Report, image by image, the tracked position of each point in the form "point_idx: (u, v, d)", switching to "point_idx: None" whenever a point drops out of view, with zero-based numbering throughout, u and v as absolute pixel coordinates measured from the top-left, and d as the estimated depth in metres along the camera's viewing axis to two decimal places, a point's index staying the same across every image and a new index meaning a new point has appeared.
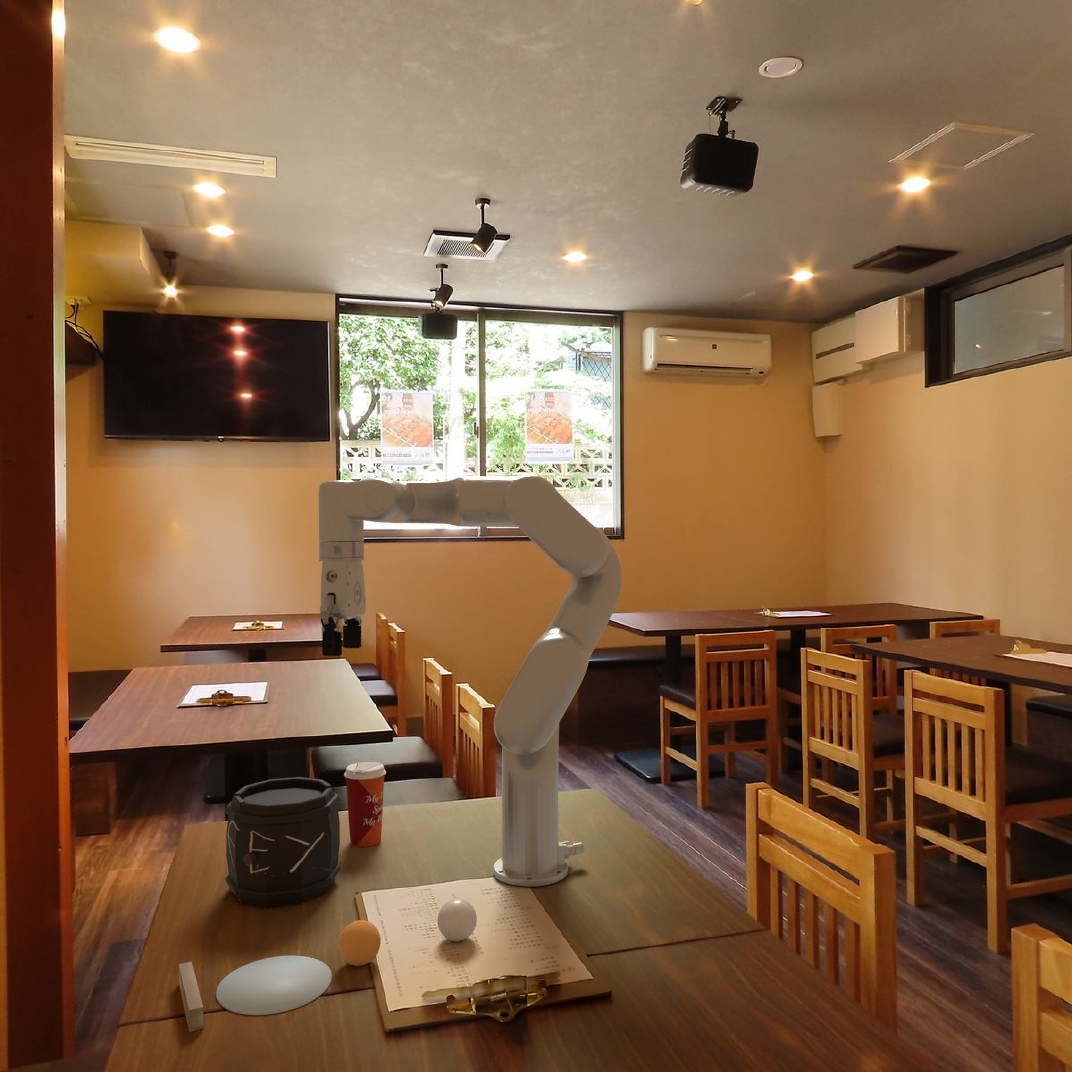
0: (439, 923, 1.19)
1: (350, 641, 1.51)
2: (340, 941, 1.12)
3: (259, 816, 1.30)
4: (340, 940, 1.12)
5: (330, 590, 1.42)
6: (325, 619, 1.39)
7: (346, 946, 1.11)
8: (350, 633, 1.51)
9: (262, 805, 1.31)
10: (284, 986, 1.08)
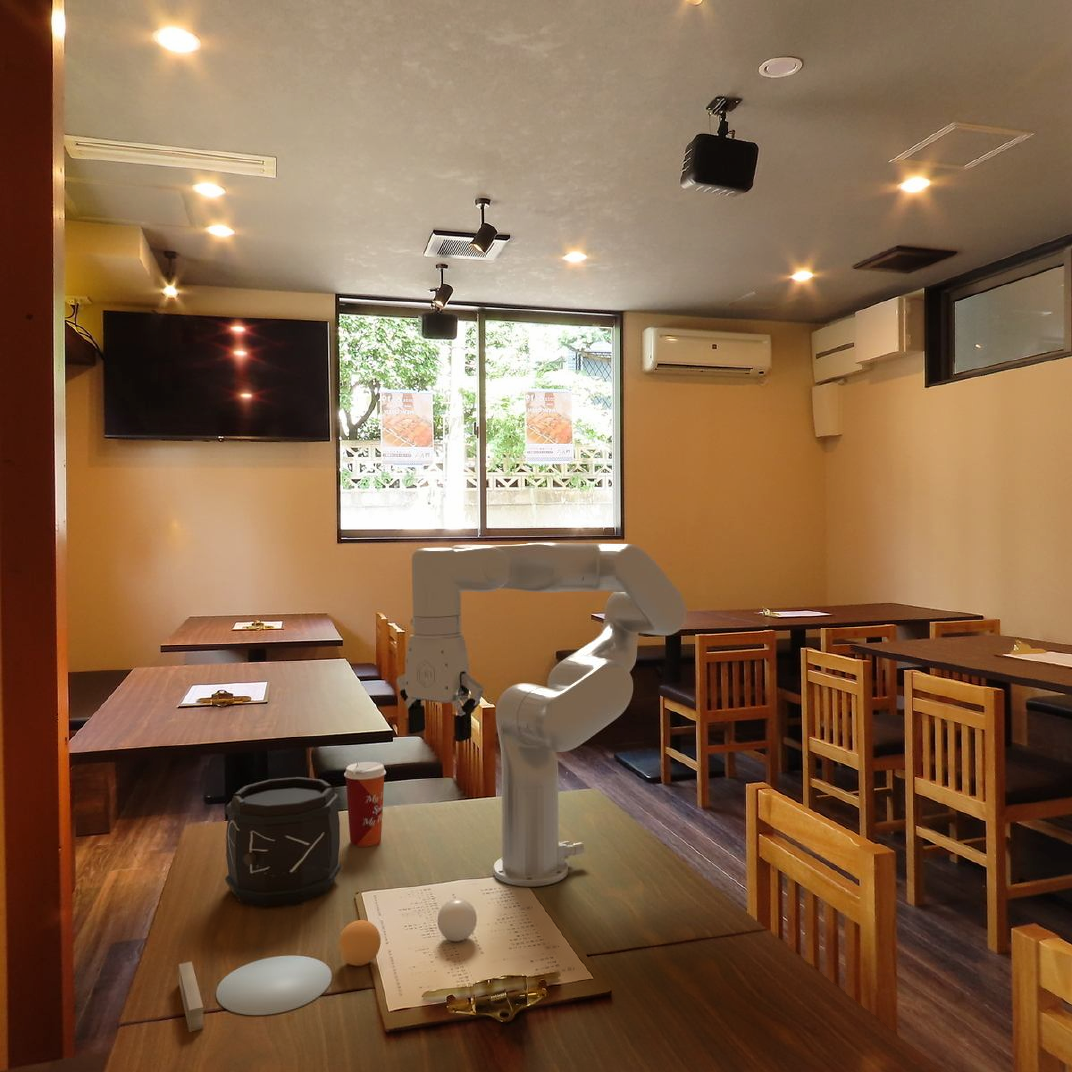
0: (439, 923, 1.19)
1: None
2: (340, 941, 1.12)
3: (259, 816, 1.30)
4: (340, 940, 1.12)
5: None
6: None
7: (346, 946, 1.11)
8: None
9: (262, 805, 1.31)
10: (284, 986, 1.08)
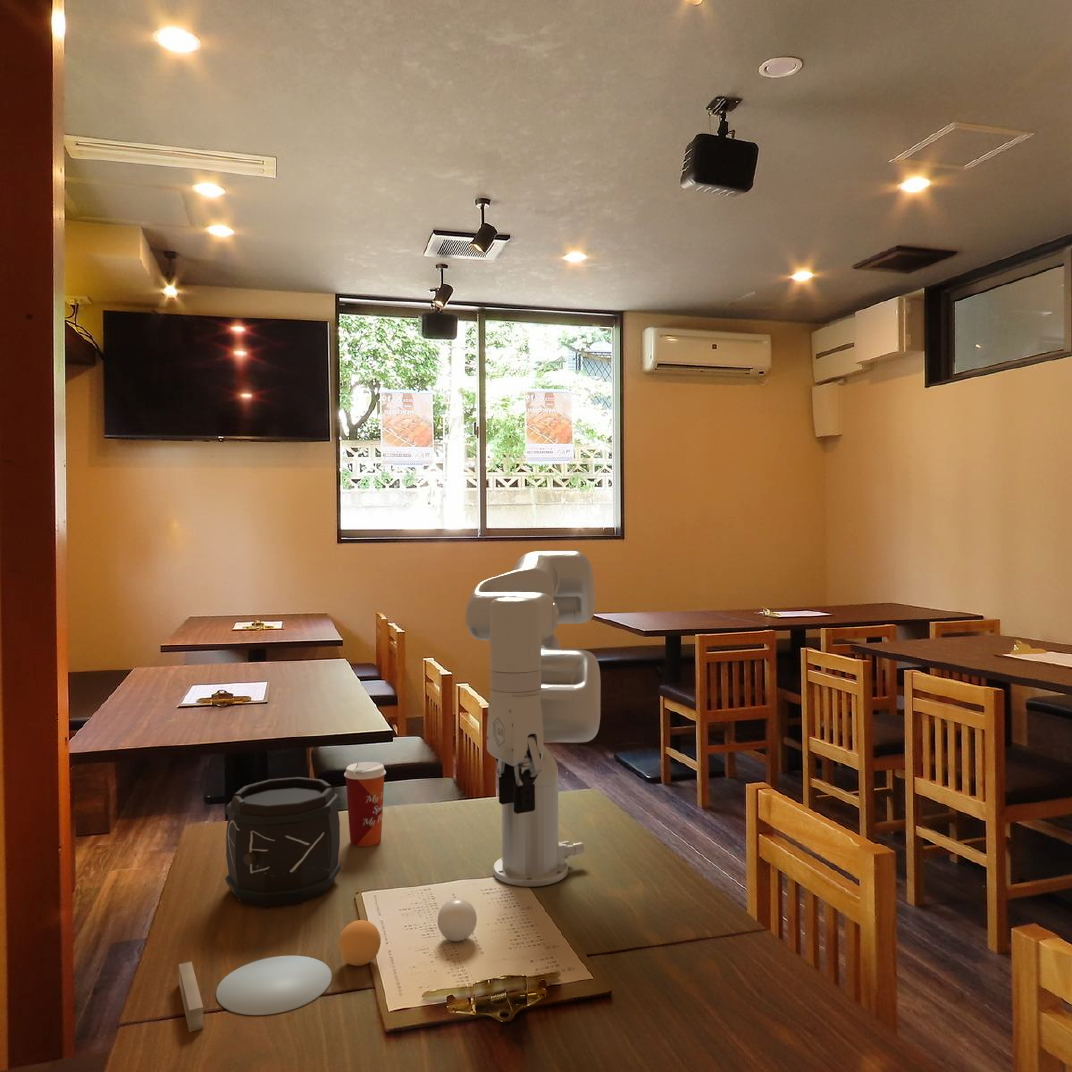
0: (439, 923, 1.19)
1: None
2: (340, 941, 1.12)
3: (259, 816, 1.30)
4: (340, 940, 1.12)
5: None
6: None
7: (346, 946, 1.11)
8: None
9: (262, 805, 1.31)
10: (284, 986, 1.08)
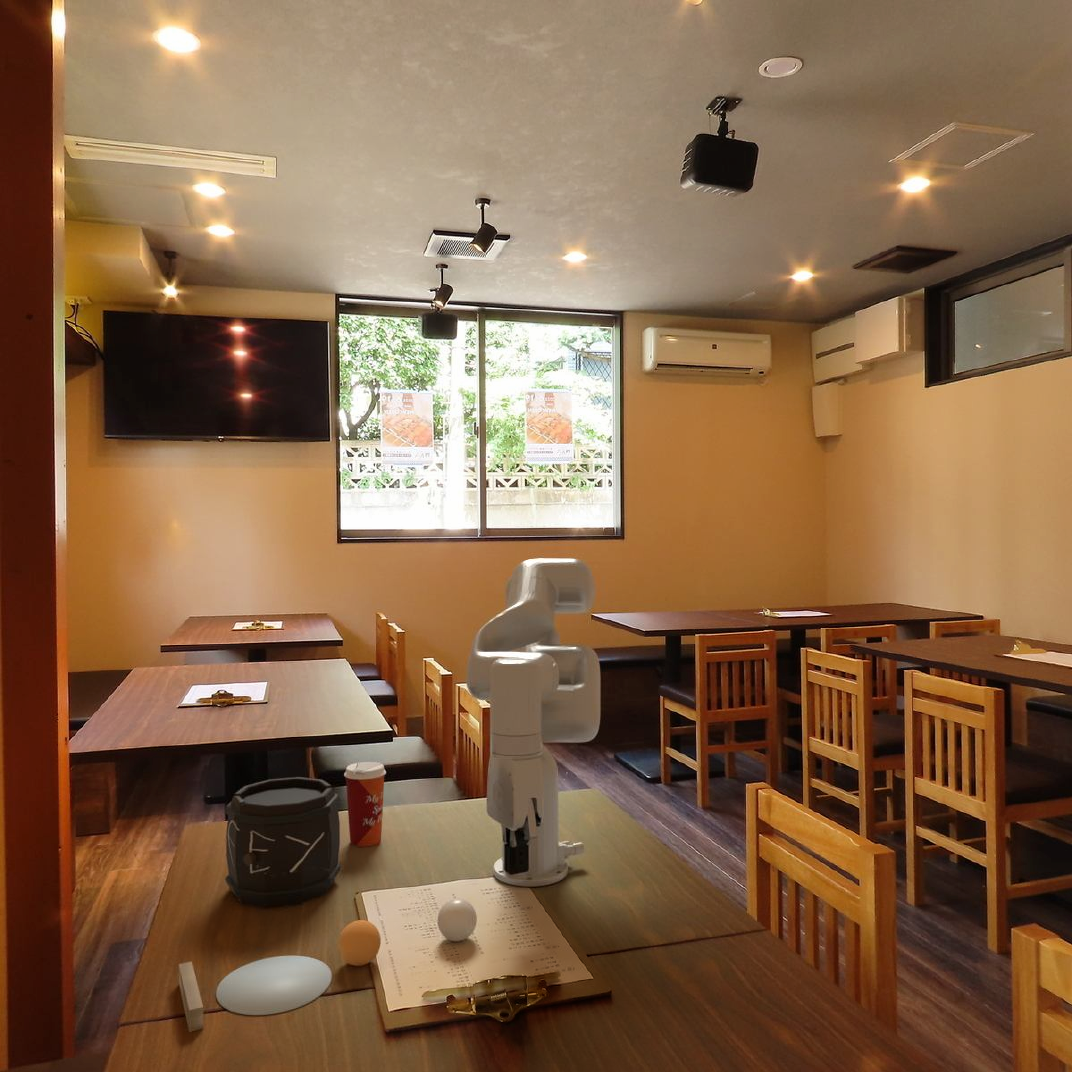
0: (439, 923, 1.19)
1: None
2: (340, 941, 1.12)
3: (259, 816, 1.30)
4: (340, 940, 1.12)
5: None
6: None
7: (346, 946, 1.11)
8: None
9: (262, 805, 1.31)
10: (284, 986, 1.08)
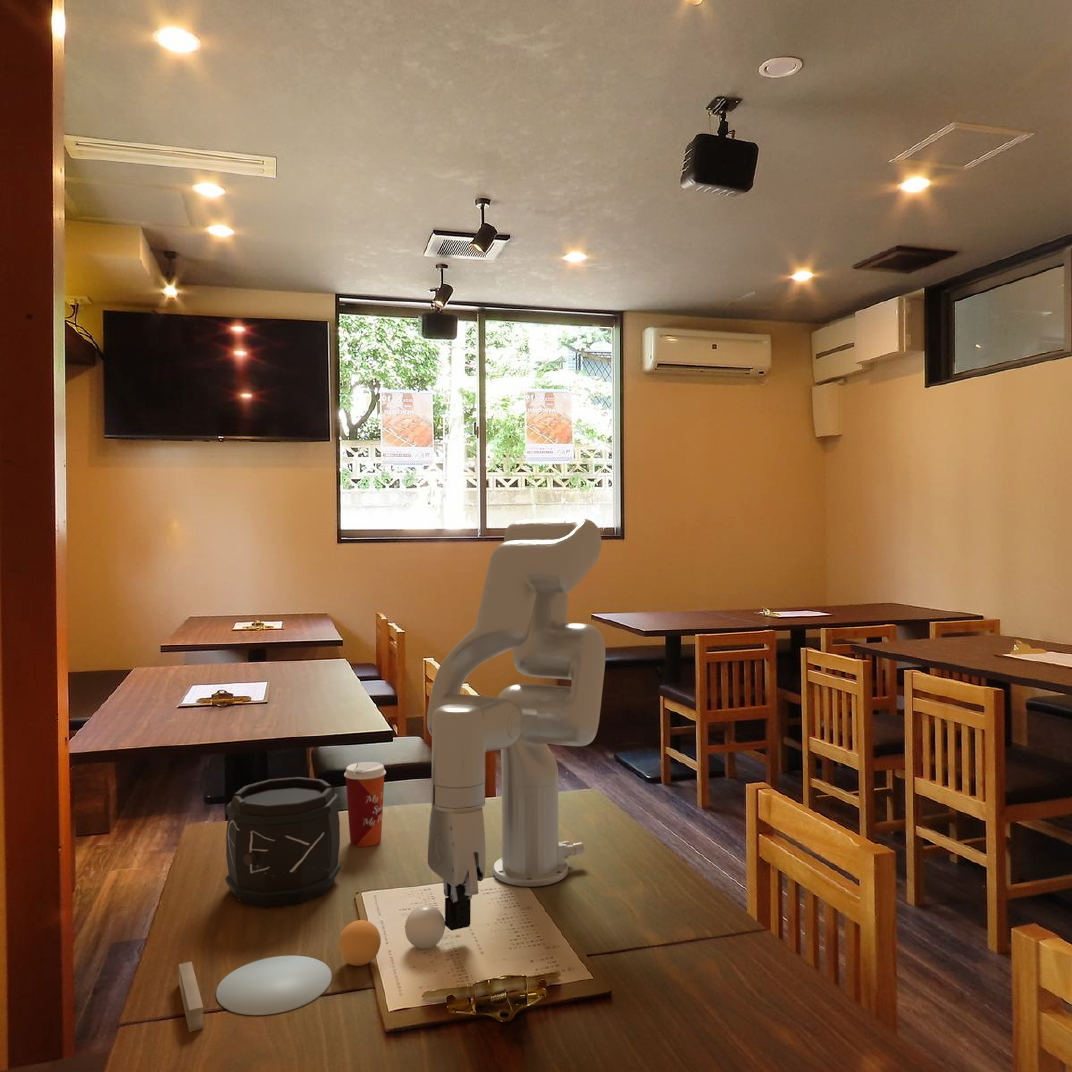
0: None
1: None
2: (340, 941, 1.12)
3: (259, 816, 1.30)
4: (340, 940, 1.12)
5: None
6: None
7: (346, 946, 1.11)
8: None
9: (262, 805, 1.31)
10: (284, 986, 1.08)
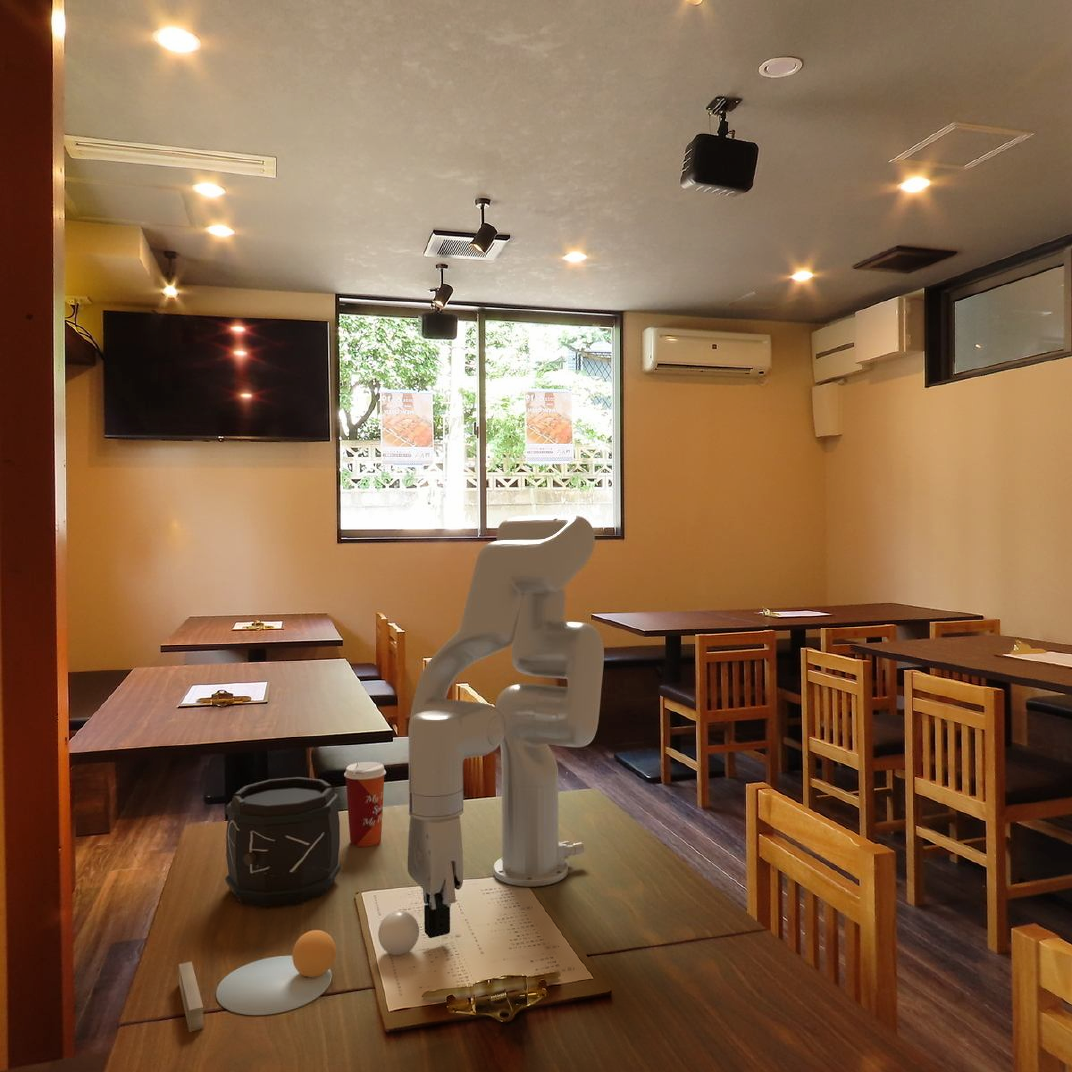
0: None
1: None
2: None
3: (259, 816, 1.30)
4: None
5: None
6: None
7: None
8: None
9: (262, 805, 1.31)
10: (284, 986, 1.08)
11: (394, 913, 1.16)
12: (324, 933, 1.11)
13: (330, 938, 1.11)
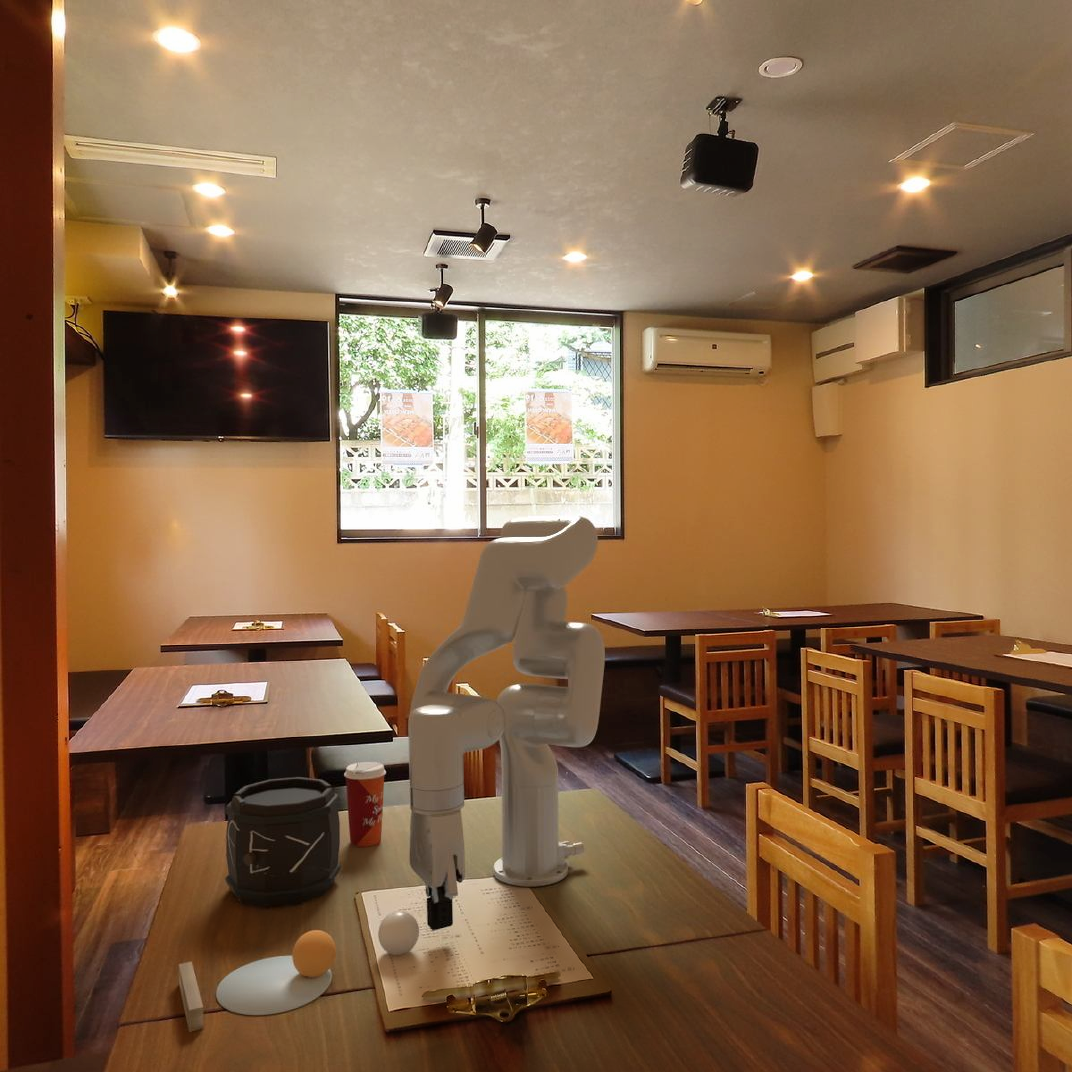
0: None
1: None
2: None
3: (259, 816, 1.30)
4: None
5: None
6: None
7: None
8: None
9: (262, 805, 1.31)
10: (284, 986, 1.08)
11: (394, 913, 1.16)
12: (324, 933, 1.11)
13: (330, 938, 1.11)
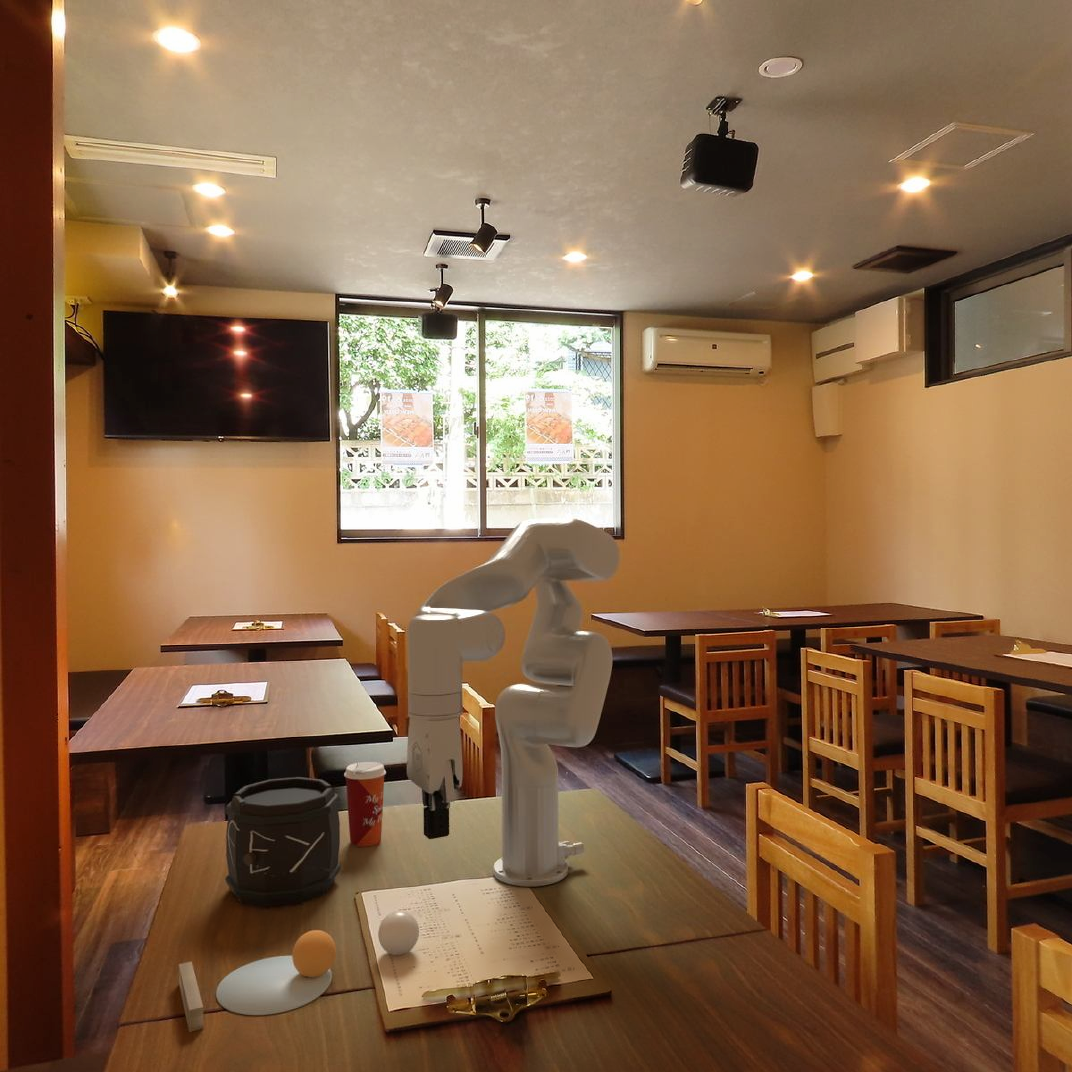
0: None
1: None
2: None
3: (259, 816, 1.30)
4: None
5: None
6: None
7: None
8: None
9: (262, 805, 1.31)
10: (284, 986, 1.08)
11: (394, 913, 1.16)
12: (324, 933, 1.11)
13: (330, 938, 1.11)
